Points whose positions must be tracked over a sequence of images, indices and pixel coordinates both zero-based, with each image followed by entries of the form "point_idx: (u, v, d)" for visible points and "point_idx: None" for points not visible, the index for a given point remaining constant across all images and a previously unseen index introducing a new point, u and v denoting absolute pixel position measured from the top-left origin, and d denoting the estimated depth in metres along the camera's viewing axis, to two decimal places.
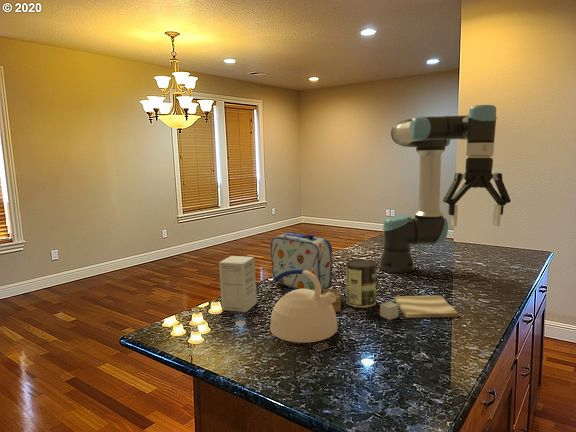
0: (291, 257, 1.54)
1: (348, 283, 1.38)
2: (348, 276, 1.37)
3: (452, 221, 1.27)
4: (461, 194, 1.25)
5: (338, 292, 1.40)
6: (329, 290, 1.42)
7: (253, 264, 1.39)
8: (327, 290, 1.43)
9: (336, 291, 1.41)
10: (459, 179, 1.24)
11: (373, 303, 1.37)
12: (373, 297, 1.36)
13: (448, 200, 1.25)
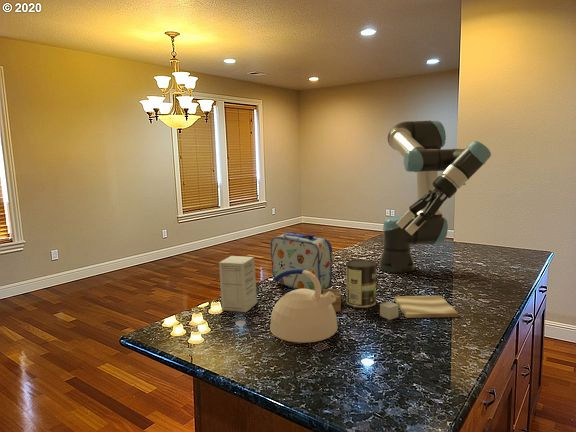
0: (291, 257, 1.54)
1: (348, 283, 1.38)
2: (348, 276, 1.37)
3: (411, 229, 1.29)
4: None
5: (338, 292, 1.40)
6: (329, 290, 1.42)
7: (253, 264, 1.39)
8: (327, 290, 1.43)
9: (336, 291, 1.41)
10: None
11: (373, 303, 1.37)
12: (373, 297, 1.36)
13: None
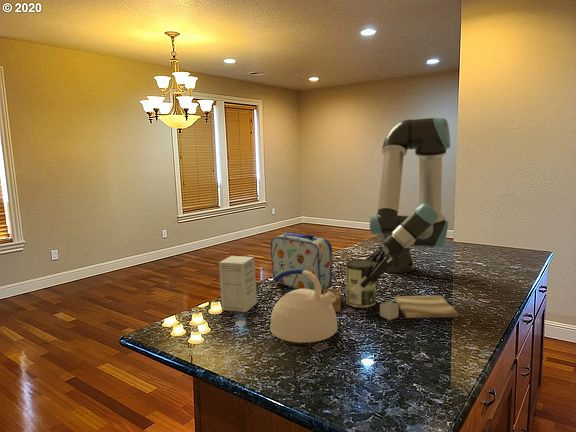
0: (291, 257, 1.54)
1: (348, 283, 1.38)
2: (348, 276, 1.37)
3: (357, 289, 1.34)
4: None
5: (338, 292, 1.40)
6: (329, 290, 1.42)
7: (253, 264, 1.39)
8: (327, 290, 1.43)
9: (336, 291, 1.41)
10: None
11: (373, 303, 1.37)
12: (373, 297, 1.37)
13: None
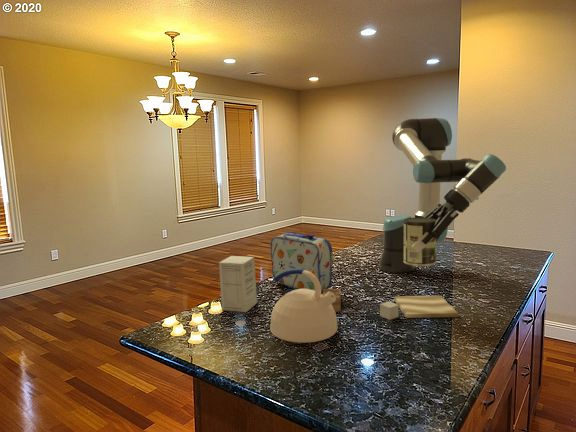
0: (291, 257, 1.54)
1: (407, 241, 1.29)
2: (407, 233, 1.29)
3: (417, 246, 1.26)
4: None
5: (338, 292, 1.40)
6: (329, 290, 1.42)
7: (253, 264, 1.39)
8: (327, 289, 1.43)
9: (336, 291, 1.41)
10: None
11: (434, 262, 1.29)
12: (434, 255, 1.28)
13: None
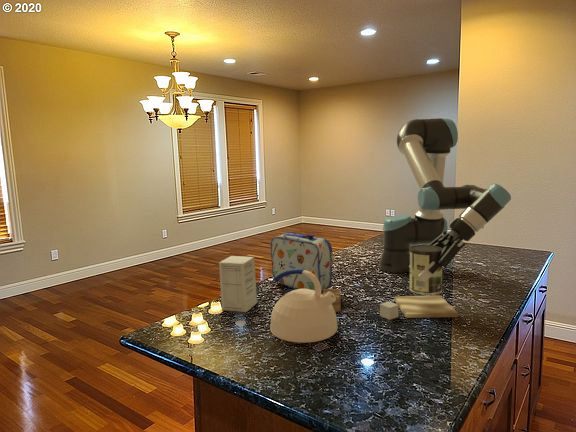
0: (291, 257, 1.54)
1: (413, 269, 1.30)
2: (413, 262, 1.29)
3: (424, 276, 1.26)
4: None
5: (338, 292, 1.40)
6: (329, 290, 1.42)
7: (253, 264, 1.39)
8: (327, 289, 1.43)
9: (336, 291, 1.41)
10: None
11: (440, 290, 1.29)
12: (440, 283, 1.29)
13: None
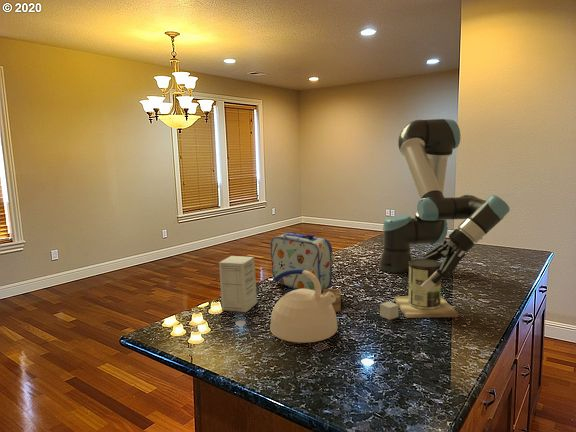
0: (291, 257, 1.54)
1: (412, 284, 1.31)
2: (412, 276, 1.31)
3: (427, 286, 1.26)
4: None
5: (338, 292, 1.40)
6: (329, 290, 1.42)
7: (253, 264, 1.39)
8: (327, 289, 1.43)
9: (336, 291, 1.41)
10: None
11: (438, 305, 1.31)
12: (438, 298, 1.30)
13: None
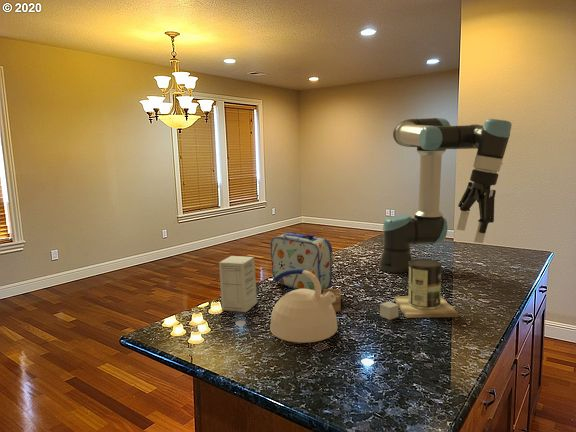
0: (291, 257, 1.54)
1: (412, 284, 1.31)
2: (412, 276, 1.31)
3: (479, 238, 1.23)
4: None
5: (338, 292, 1.40)
6: (329, 290, 1.42)
7: (253, 264, 1.39)
8: (328, 289, 1.43)
9: (336, 291, 1.41)
10: None
11: (438, 305, 1.31)
12: (438, 298, 1.30)
13: None
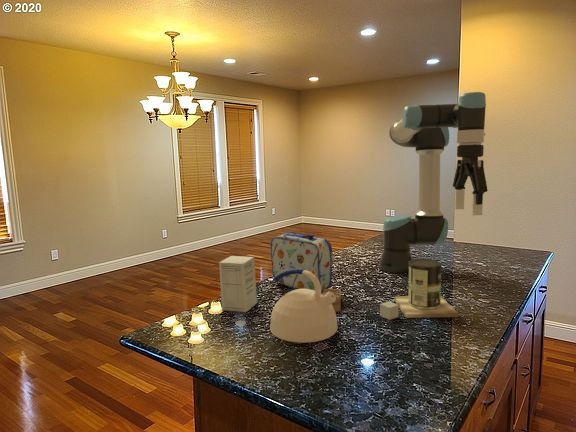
0: (291, 257, 1.54)
1: (412, 284, 1.31)
2: (412, 276, 1.31)
3: (477, 211, 1.22)
4: None
5: (337, 292, 1.40)
6: (329, 290, 1.42)
7: (253, 264, 1.39)
8: (328, 289, 1.43)
9: (336, 291, 1.41)
10: None
11: (438, 305, 1.31)
12: (438, 298, 1.30)
13: None
